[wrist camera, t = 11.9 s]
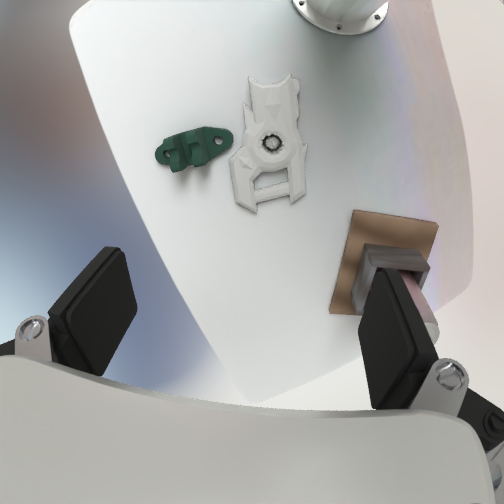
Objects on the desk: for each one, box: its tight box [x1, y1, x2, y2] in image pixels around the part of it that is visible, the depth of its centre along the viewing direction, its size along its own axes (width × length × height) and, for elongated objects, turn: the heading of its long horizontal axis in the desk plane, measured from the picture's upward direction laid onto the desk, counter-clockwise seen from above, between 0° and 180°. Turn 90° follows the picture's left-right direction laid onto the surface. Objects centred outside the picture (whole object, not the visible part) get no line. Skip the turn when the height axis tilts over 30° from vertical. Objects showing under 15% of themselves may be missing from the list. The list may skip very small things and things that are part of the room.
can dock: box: [329, 210, 439, 315], centre depth 41 cm, size 18×14×6 cm
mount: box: [155, 126, 233, 173], centre depth 35 cm, size 11×4×5 cm, turn 102°
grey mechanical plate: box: [229, 73, 308, 214], centre depth 35 cm, size 18×4×10 cm
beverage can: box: [372, 267, 439, 345], centre depth 36 cm, size 6×6×15 cm
